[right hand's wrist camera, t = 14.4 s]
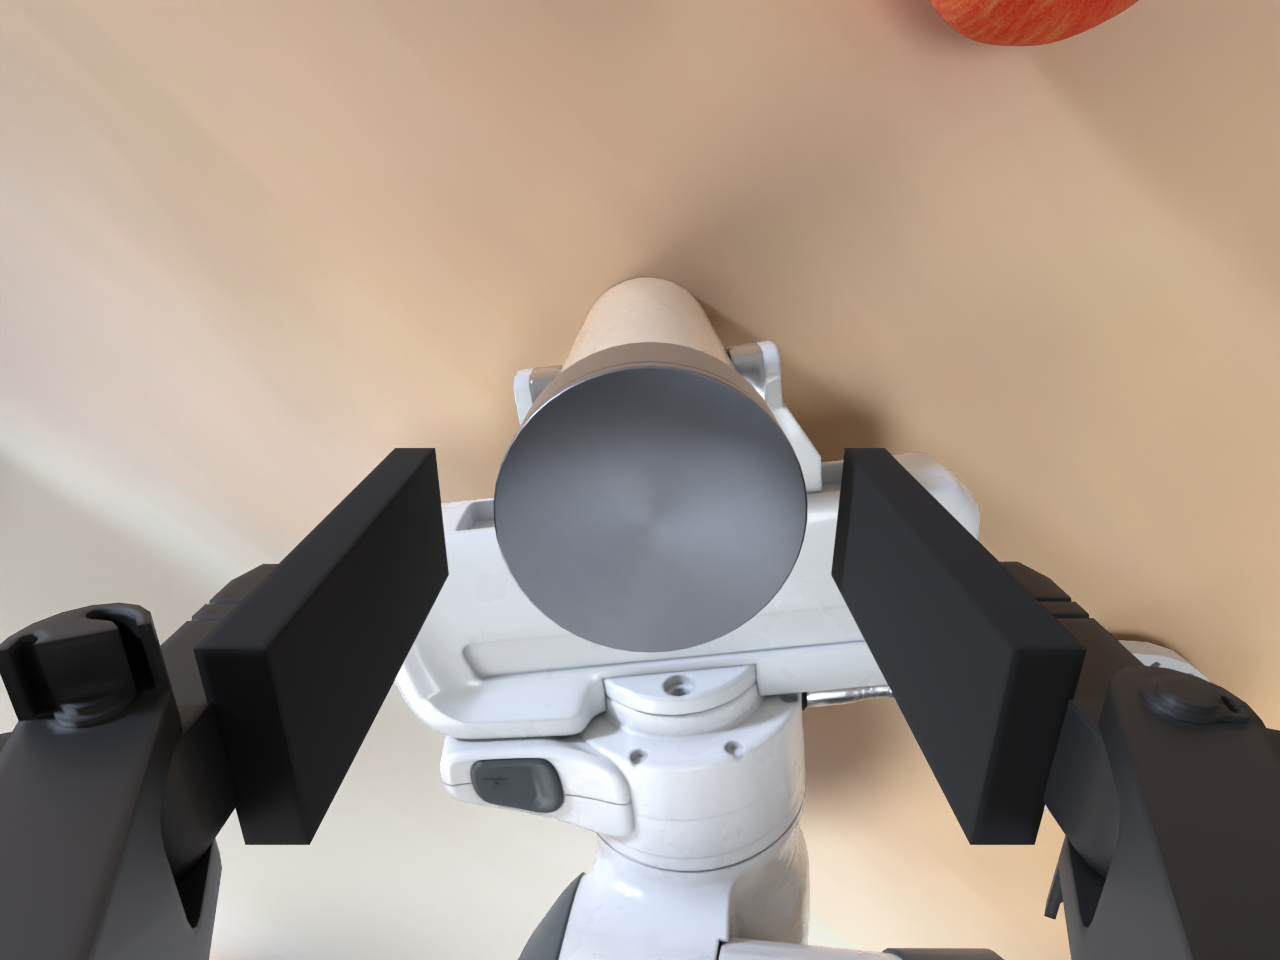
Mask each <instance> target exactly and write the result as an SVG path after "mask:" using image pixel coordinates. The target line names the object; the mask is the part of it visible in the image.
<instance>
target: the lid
mask: <svg viewBox="0 0 1280 960" xmlns="http://www.w3.org/2000/svg"><path fill="white" fill-rule="evenodd" d="M493 505H494V525H495V532H496V538H497V542H498V545H499V548H500V551H501V555H502V557H503V560H504V562H505V564H506V566H507V568H508V570H509V573H510V574H511V576H512V578H513V579H514V581H515V582H516V584H517V585H518V587H519V588H520V590H521V591H522V592H523V593H524V595H525V596H526V597H527V598H528V599H529V601H530V602H531V603H532V604H533V605H534V606H535V607H536V608H537V609H538V610H539V611H541V612H542V613H543V614H544V615H545V616H546V617H547V618H549V619H550V620H552V621H553V622H554V623H556V624H557V625H559V626H560V627H562V628H563V629H565V630H567V631H569V632H571V633H572V634H574V635H576V636H578V637H580V638H583V639H585V640H588V641H590V642H593V643H595V644H599V645H602V646H606V647H609V648H613V649H619V650H625V651H631V652H649V653H651V652H669V651H675V650H681V649H687V648H691V647H694V646H698V645H701V644H705V643H708V642H710V641H712V640H715V639H717V638H720V637H722V636H724V635H726V634H728V633H730V632H732V631H733V630H735V629H737V628H739V627H740V626H742V625H743V624H745V623H746V622H747V621H749V620H750V619H752V618H753V617H754V616H755V615H757V614H758V613H759V612H760V611H761V610H762V609H763V608H764V607H765V606H766V605H767V604H769V602H770V601H771V600H772V599H773V598H774V596H775V595H776V594H777V593H778V592H779V591H780V589H781V588H782V586H783V585H784V583H785V582H786V580H787V578H788V577H789V575H790V574H791V572H792V570H793V567H794V565H795V563H796V561H797V559H798V557H799V554H800V551H801V547H802V544H803V541H804V537H805V531H806V525H807V506H808V501H807V493H806V485H805V480H804V477H803V473H802V469H801V466H800V463H799V461H798V458H797V456H796V454H795V452H794V449H793V447H792V445H791V443H790V442H789V440H788V438H787V437H786V435H785V433H784V432H783V430H782V428H781V427H780V425H779V423H778V422H777V420H776V418H775V417H774V415H773V413H772V412H771V410H770V408H769V407H768V405H767V404H766V402H765V400H764V399H763V397H762V396H761V395H760V394H759V392H758V391H757V390H756V389H755V388H754V387H753V385H752V384H751V383H750V382H749V381H748V380H746V379H745V378H744V377H743V376H742V375H741V374H740V373H739V372H738V371H736V370H735V369H733V368H732V367H730V366H729V365H727V364H726V363H724V362H723V361H721V360H719V359H717V358H715V357H713V356H711V355H709V354H707V353H705V352H702V351H699V350H696V349H693V348H690V347H686V346H681V345H676V344H671V343H660V342H640V343H629V344H624V345H619V346H614V347H610V348H607V349H604V350H601V351H598V352H596V353H593V354H591V355H589V356H587V357H585V358H583V359H581V360H579V361H577V362H576V363H574V364H573V365H571V366H570V367H568V368H567V369H565V370H564V371H562V372H561V373H560V374H559V375H558V376H557V377H556V378H555V379H553V380H552V381H551V382H550V383H549V384H548V385H547V386H546V387H545V389H544V390H543V391H542V392H541V393H540V395H539V396H538V397H537V398H536V400H535V401H534V403H533V405H532V406H531V408H530V409H529V411H528V413H527V414H526V416H525V418H524V420H523V422H522V424H521V426H520V427H519V429H518V431H517V433H516V435H515V437H514V438H513V440H512V442H511V444H510V446H509V448H508V450H507V452H506V455H505V457H504V459H503V461H502V464H501V467H500V470H499V474H498V477H497V481H496V486H495V494H494V501H493Z"/></svg>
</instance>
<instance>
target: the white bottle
mask: <svg viewBox="0 0 1280 960" xmlns="http://www.w3.org/2000/svg"><path fill="white" fill-rule="evenodd" d="M640 342H660V343H671V344H676V345H681V346H686V347H690V348H693V349H696V350H699V351H702V352H705V353H707V354H709V355H711V356H713V357H715V358H717V359H719V360H721V361H723V362H724V363H726V364H727V365H729V366H730V367H732V368H733V369H735V367H734V365H733V364H732V362H731V360H730V358H729V356H728V354H727V352H726V350H725V349H724V347H723V345H722V343H721V341H720V339H719V337H718V335H717V334H716V332H715V330H714V328H713V326H712V324H711V322H710V320H709V319H708V317H707V315H706V313H705V311H704V310H703V308H702V306H701V305H700V303H699V302H698V301H697V300H696V299H695V298H694V297H693V296H692V295H691V294H690V293H689V292H688V291H686V290H685V289H684V288H682V287H681V286H679V285H677V284H675V283H672V282H670V281H667V280H663V279H658V278H648V277H646V278H636V279H631V280H628V281H625V282H622V283H620V284H618V285H616V286H614V287H612V288H611V289H609V290H608V291H607V292H605V293H604V294H603V295H602V296H601V297H600V298H599V299H598V300H597V302H596V303H595V304H594V305H593V307H592V308H591V310H590V312H589V314H588V316H587V318H586V320H585V322H584V324H583V326H582V328H581V330H580V332H579V334H578V336H577V338H576V341H575V343H574V345H573V347H572V349H571V351H570V353H569V355H568V357H567V359H566V361H565V363H564V365H563V367H562V370H561V372H562V371H564V370H565V369H567V368H568V367H570V366H571V365H573V364H574V363H576V362H577V361H579V360H581V359H583V358H585V357H587V356H589V355H591V354H593V353H596V352H598V351H601V350H604V349H607V348H610V347H614V346H619V345H624V344H629V343H640ZM735 370H736V369H735ZM561 372H560V373H561Z"/></svg>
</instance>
